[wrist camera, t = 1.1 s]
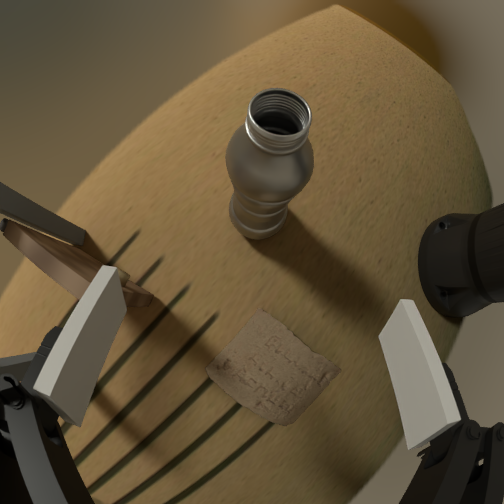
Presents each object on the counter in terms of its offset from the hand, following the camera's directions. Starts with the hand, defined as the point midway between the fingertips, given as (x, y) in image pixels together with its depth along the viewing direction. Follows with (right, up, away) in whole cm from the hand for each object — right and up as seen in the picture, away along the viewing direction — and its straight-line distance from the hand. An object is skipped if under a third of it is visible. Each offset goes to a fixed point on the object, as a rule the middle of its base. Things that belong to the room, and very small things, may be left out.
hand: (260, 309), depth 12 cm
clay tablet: (+2, -11, +19) cm, 22 cm away
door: (-18, 0, +19) cm, 26 cm away
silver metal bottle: (0, +7, +22) cm, 23 cm away
